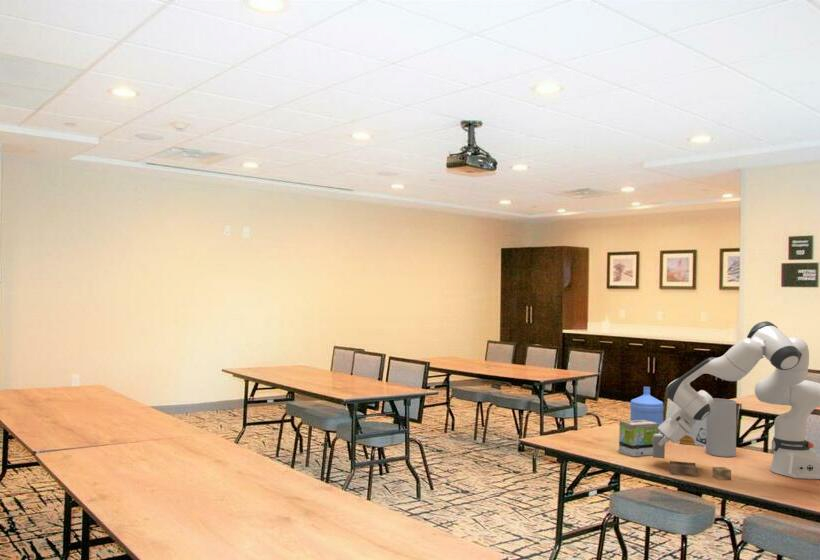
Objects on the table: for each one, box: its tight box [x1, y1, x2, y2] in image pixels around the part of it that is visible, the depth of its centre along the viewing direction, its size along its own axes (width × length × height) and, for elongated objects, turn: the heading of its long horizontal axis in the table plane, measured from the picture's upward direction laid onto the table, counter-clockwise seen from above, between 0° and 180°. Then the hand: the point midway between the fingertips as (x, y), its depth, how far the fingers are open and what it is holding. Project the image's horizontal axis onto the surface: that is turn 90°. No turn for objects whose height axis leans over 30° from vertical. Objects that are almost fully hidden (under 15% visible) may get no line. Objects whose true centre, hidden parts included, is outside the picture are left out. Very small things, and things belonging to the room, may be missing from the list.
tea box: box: [618, 420, 659, 457], centre depth 302 cm, size 15×10×15 cm
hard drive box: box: [679, 417, 706, 448], centre depth 324 cm, size 16×8×20 cm, turn 62°
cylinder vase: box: [705, 397, 737, 458], centre depth 303 cm, size 12×12×25 cm
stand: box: [669, 460, 699, 478], centre depth 269 cm, size 10×8×4 cm
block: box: [712, 466, 732, 481], centre depth 262 cm, size 5×5×4 cm
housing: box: [652, 434, 666, 459], centre depth 279 cm, size 4×4×10 cm
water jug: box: [629, 386, 664, 433], centre depth 324 cm, size 16×16×28 cm
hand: (657, 443), depth 280 cm, fingers closed on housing, 5 cm apart
